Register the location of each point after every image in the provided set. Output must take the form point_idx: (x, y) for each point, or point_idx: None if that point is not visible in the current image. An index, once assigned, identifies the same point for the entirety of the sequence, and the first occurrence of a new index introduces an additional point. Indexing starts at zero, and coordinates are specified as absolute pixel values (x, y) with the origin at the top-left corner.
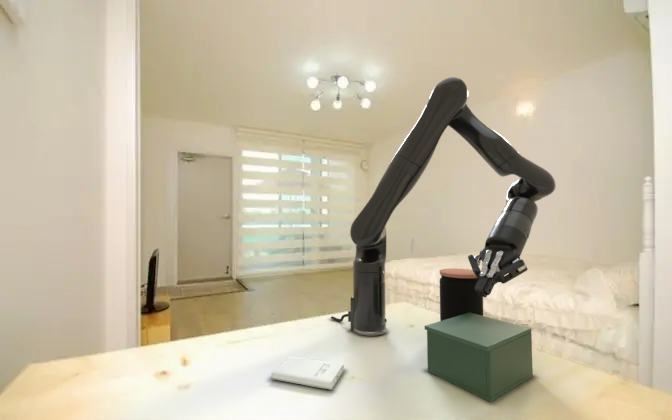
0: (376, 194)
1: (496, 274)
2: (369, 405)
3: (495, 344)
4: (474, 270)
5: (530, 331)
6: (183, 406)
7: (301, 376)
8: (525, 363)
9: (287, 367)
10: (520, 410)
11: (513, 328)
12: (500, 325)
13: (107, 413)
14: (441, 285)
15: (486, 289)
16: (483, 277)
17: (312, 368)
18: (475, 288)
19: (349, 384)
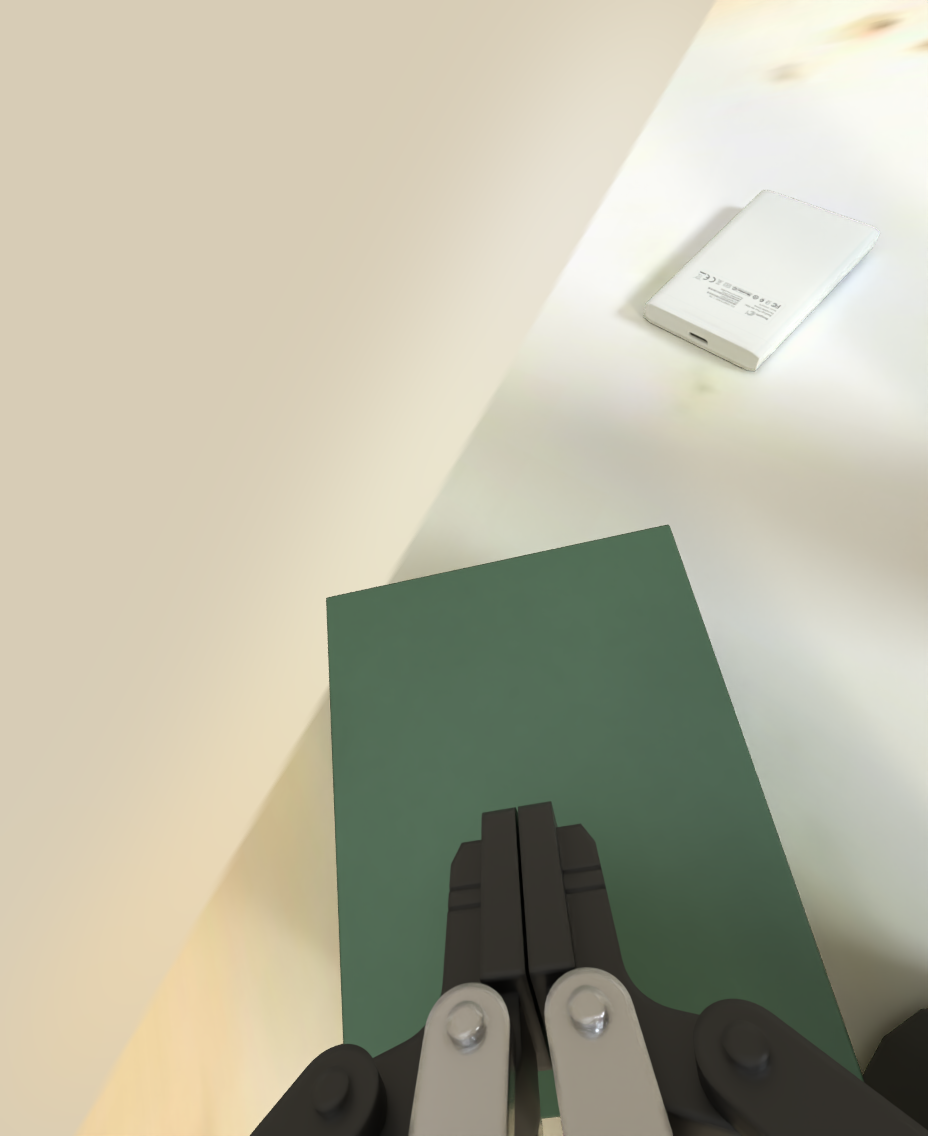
0: None
1: (376, 1070)
2: (540, 380)
3: (329, 661)
4: (755, 1024)
5: None
6: (692, 91)
7: (709, 245)
8: None
9: (781, 218)
10: (329, 723)
11: (406, 993)
12: None
13: (712, 12)
14: None
15: (460, 858)
16: (546, 963)
17: (752, 273)
18: (576, 829)
19: (660, 368)
